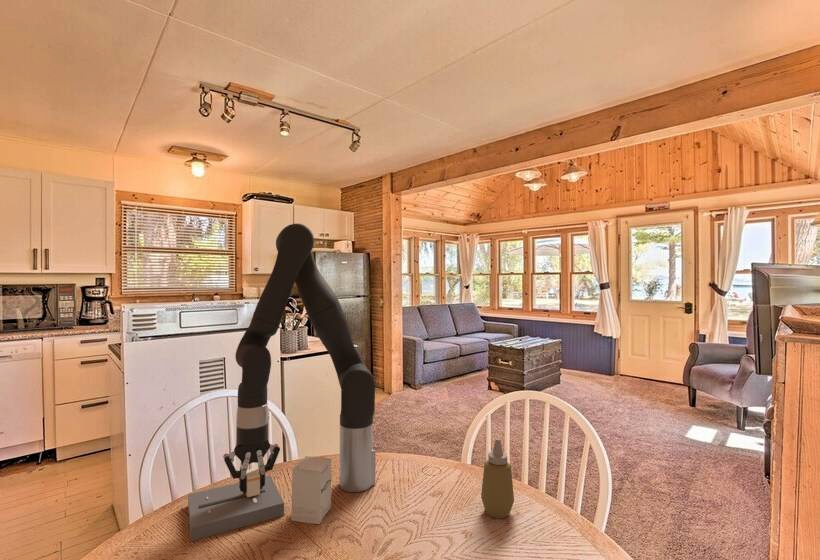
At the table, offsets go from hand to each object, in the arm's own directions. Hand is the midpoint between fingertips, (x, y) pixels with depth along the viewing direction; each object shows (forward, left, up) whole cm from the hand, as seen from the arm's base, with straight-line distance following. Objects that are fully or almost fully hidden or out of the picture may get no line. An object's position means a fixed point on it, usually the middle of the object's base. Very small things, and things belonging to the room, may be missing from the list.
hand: (252, 489), depth 103 cm
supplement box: (-12, +11, -4) cm, 17 cm away
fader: (0, 0, -1) cm, 1 cm away
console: (+4, 0, -4) cm, 6 cm away
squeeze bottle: (-52, +33, -4) cm, 62 cm away
